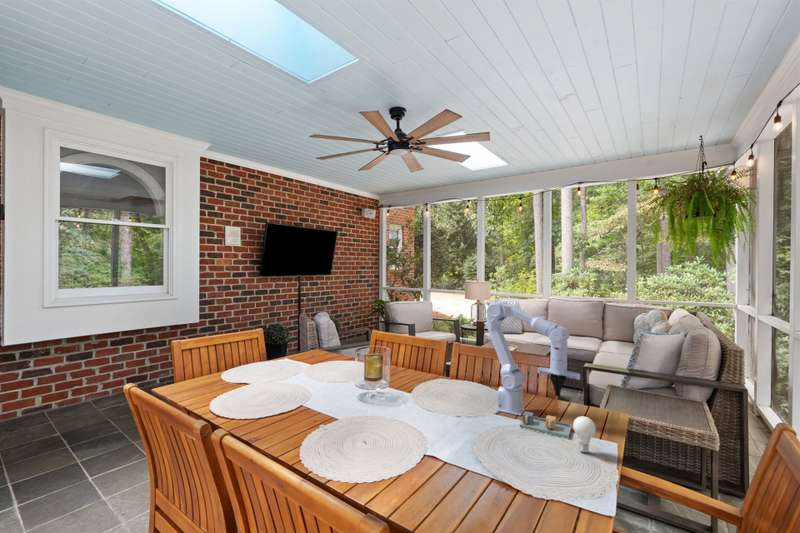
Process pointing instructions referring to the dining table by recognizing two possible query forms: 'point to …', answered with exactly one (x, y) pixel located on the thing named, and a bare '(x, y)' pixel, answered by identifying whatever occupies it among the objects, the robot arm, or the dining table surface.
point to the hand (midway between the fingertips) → (557, 395)
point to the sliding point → (550, 422)
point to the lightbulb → (584, 431)
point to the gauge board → (539, 425)
